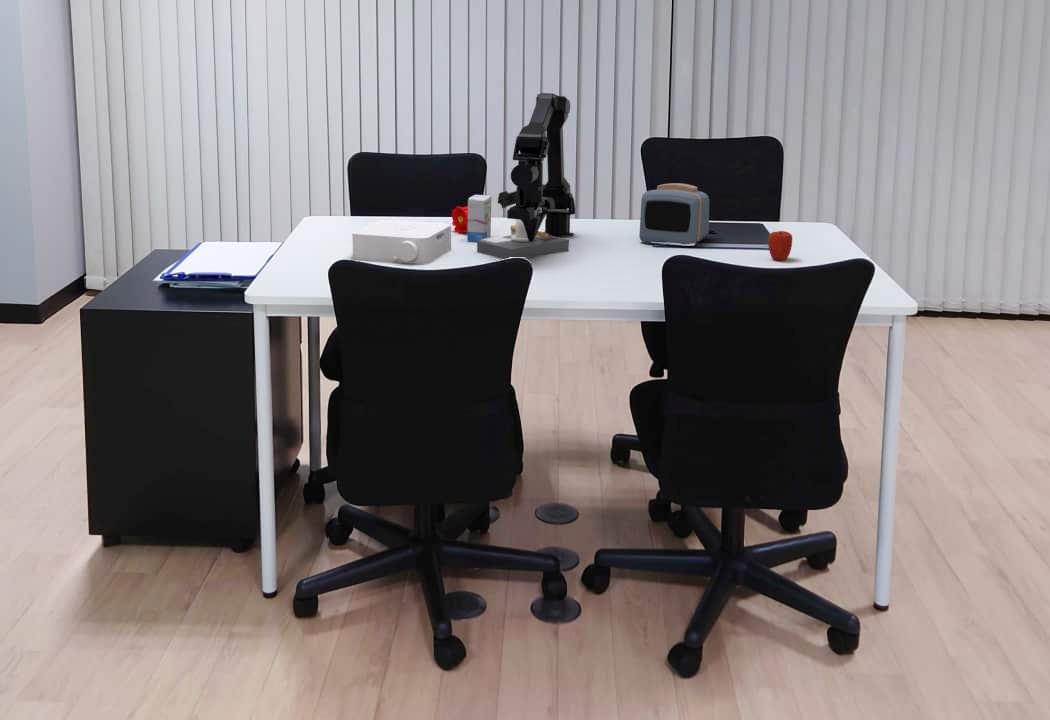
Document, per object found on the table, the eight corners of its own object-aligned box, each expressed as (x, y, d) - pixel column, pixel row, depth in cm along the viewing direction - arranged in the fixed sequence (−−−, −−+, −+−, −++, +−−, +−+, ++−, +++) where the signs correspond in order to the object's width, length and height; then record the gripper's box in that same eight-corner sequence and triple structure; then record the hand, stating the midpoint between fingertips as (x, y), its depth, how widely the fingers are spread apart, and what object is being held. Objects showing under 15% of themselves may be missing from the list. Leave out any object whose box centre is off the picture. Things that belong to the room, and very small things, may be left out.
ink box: (484, 242, 373) (484, 199, 370) (467, 241, 374) (466, 199, 371) (491, 236, 382) (491, 194, 378) (474, 235, 382) (474, 193, 379)
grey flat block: (532, 241, 375) (532, 226, 374) (568, 250, 364) (568, 235, 362) (474, 251, 362) (474, 235, 361) (510, 260, 351) (510, 244, 350)
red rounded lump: (772, 256, 359) (773, 228, 357) (794, 258, 356) (796, 230, 354) (763, 260, 354) (765, 232, 352) (786, 263, 351) (788, 234, 349)
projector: (347, 261, 351) (347, 234, 349) (380, 244, 371) (380, 219, 369) (424, 266, 345) (424, 240, 343) (453, 249, 366) (453, 224, 364)
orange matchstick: (508, 229, 369) (508, 225, 368) (515, 228, 370) (515, 224, 370) (542, 237, 358) (542, 233, 358) (549, 236, 360) (549, 232, 359)
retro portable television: (636, 244, 373) (638, 186, 369) (654, 233, 388) (656, 177, 383) (694, 249, 367) (697, 190, 363) (710, 238, 382) (713, 181, 377)
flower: (491, 215, 384) (467, 217, 380) (484, 237, 389) (460, 240, 384) (478, 200, 389) (454, 201, 385) (471, 222, 394) (447, 224, 389)
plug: (524, 247, 367) (524, 214, 364) (539, 251, 362) (540, 218, 360) (505, 250, 363) (506, 217, 360) (521, 254, 358) (521, 221, 356)
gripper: (516, 173, 361) (516, 231, 365) (488, 184, 344) (488, 245, 349) (555, 176, 357) (554, 235, 361) (529, 187, 340) (528, 249, 345)
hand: (531, 241), depth 354 cm, fingers closed
